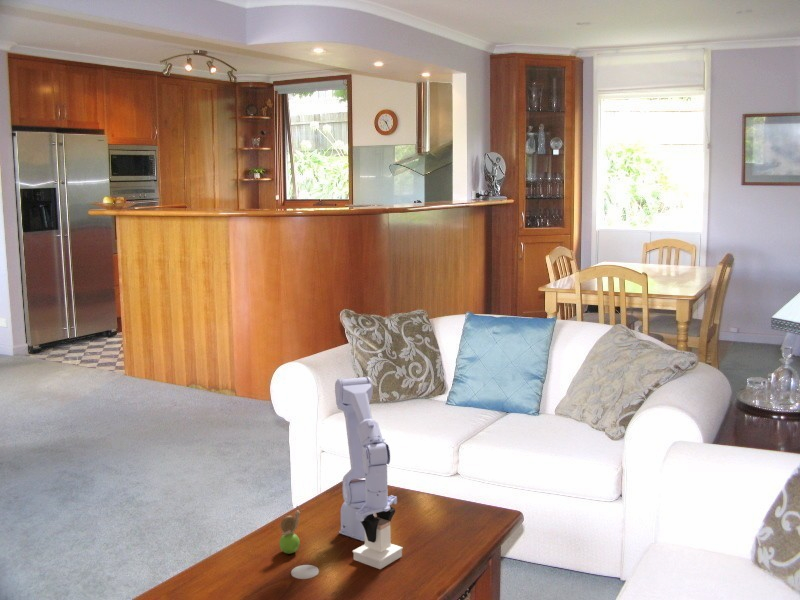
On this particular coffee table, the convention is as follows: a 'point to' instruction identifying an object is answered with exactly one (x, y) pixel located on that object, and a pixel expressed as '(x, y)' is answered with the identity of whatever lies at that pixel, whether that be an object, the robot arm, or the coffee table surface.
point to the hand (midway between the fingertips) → (377, 537)
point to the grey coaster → (304, 571)
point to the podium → (377, 555)
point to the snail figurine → (289, 534)
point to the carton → (380, 536)
